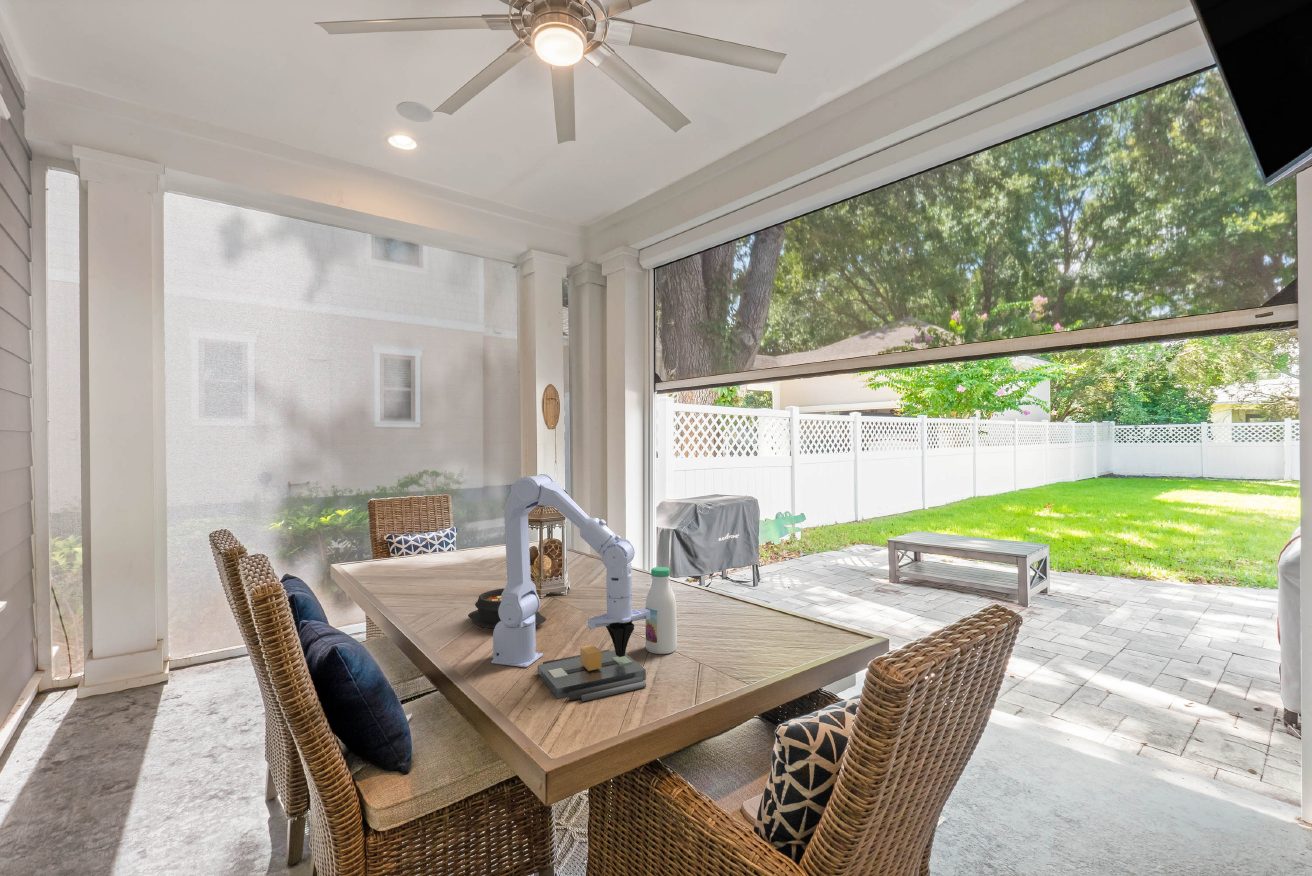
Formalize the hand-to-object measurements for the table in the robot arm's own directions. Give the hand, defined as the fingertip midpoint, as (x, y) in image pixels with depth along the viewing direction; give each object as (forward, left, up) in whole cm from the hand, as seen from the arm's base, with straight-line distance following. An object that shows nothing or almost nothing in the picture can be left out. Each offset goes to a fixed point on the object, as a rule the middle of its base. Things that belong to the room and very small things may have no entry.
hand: (620, 655), depth 134 cm
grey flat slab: (-5, -5, -3) cm, 8 cm away
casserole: (-43, +22, -4) cm, 48 cm away
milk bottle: (+5, +15, -4) cm, 16 cm away
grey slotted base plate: (-5, -5, -3) cm, 8 cm away
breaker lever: (-5, -5, -1) cm, 7 cm away
